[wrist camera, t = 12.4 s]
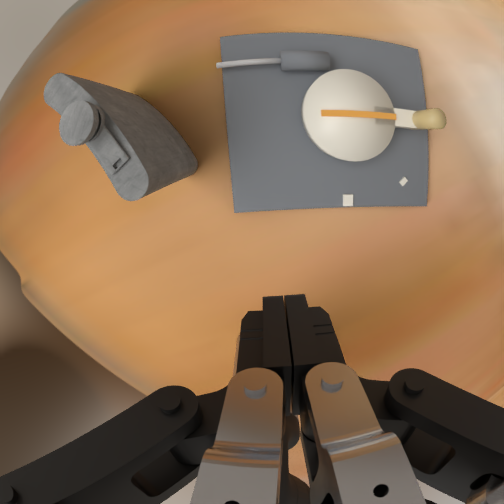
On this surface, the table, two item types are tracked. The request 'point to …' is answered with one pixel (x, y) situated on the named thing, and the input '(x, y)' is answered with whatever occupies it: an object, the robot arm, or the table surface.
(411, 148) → the panel
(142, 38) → the table surface
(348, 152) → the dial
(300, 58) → the screwdriver
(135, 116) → the hip flask
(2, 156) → the table surface
